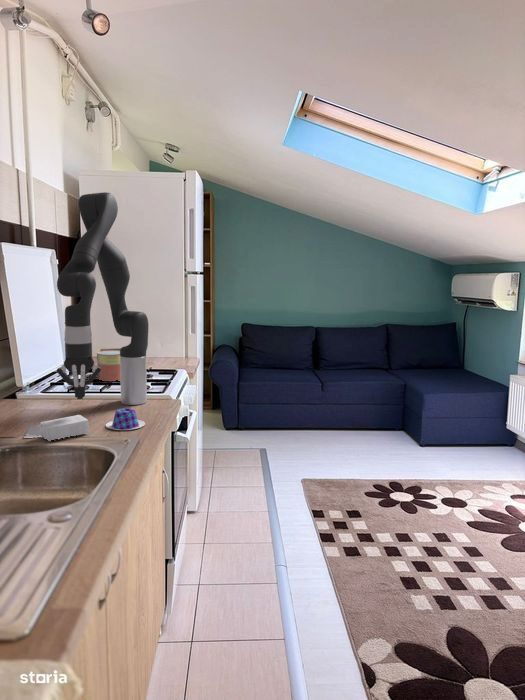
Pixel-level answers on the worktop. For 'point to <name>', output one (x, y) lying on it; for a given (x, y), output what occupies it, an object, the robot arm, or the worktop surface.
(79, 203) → the robot arm
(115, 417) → the pudding
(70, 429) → the skincare box
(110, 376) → the canned food
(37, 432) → the mat
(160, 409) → the worktop surface
